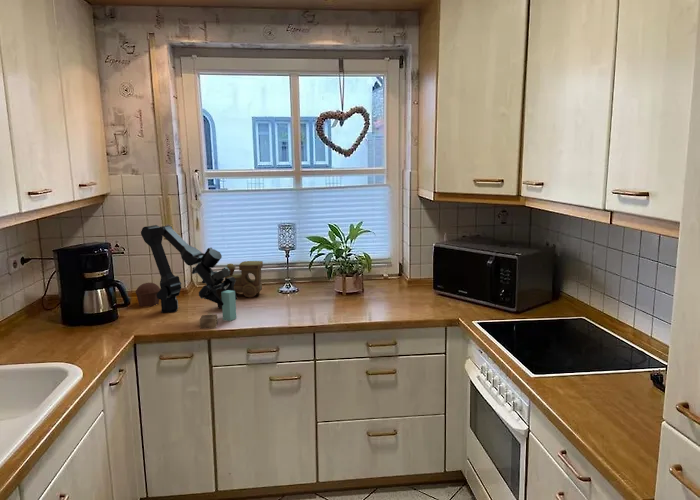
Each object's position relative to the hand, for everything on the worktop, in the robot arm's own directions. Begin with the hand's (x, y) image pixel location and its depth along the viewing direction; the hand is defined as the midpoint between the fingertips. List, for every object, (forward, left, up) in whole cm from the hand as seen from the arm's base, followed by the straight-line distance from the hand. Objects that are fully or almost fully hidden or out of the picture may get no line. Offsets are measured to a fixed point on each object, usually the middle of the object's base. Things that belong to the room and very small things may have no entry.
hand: (229, 302), depth 223 cm
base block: (-9, -7, -8) cm, 13 cm away
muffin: (-39, +34, -8) cm, 52 cm away
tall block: (-1, 0, -7) cm, 8 cm away
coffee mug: (-5, +20, -8) cm, 22 cm away
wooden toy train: (+5, +40, -8) cm, 41 cm away
